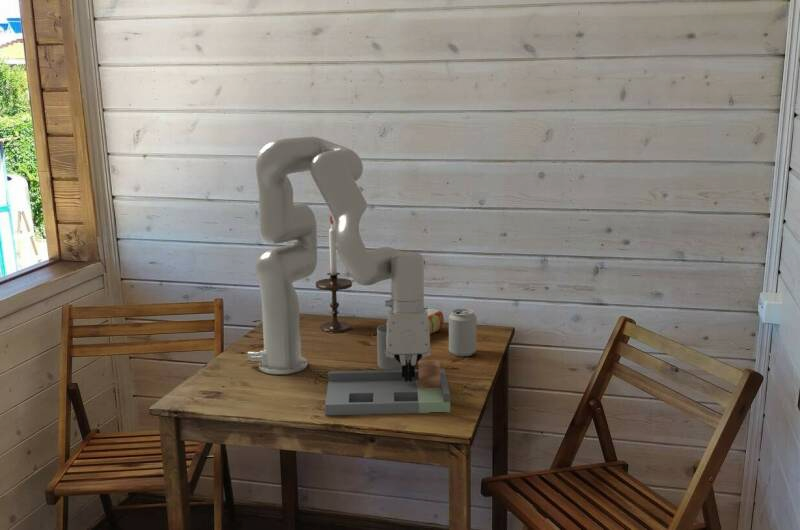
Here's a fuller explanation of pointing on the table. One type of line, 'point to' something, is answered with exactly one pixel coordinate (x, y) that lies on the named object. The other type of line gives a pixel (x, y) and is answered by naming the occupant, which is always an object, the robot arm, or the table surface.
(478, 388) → the table surface
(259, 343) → the table surface
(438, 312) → the snack package
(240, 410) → the table surface
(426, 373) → the block
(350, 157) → the robot arm
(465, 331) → the can
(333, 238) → the candlestick
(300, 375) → the table surface
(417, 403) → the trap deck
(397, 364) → the cup
